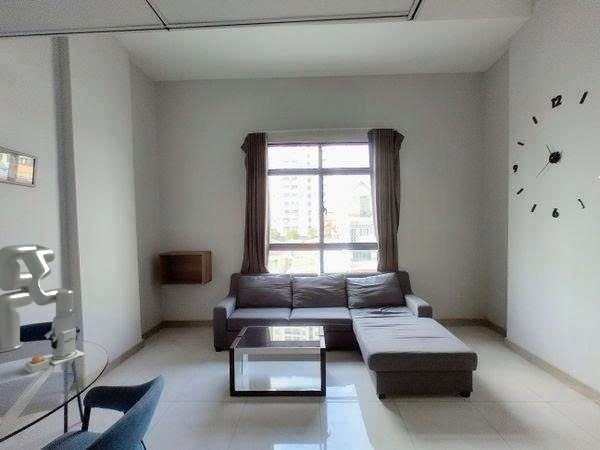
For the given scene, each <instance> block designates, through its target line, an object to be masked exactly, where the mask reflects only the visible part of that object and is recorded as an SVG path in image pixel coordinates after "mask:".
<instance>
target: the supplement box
mask: <svg viewBox="0 0 600 450" xmlns="http://www.w3.org/2000/svg"><path fill="white" fill-rule="evenodd" d="M76 330H77V327H76V328H75V329H71V330H68V331H64V332H60V336H59V337H58V338H57V339H56V341H57V348H56V349H53V348H52V347H51V355H56V356H65V355H67V354H69V353H71V352H74V351H75V349H76V347H77V346H76V343H77V340H76ZM53 334H54V332H53Z"/></svg>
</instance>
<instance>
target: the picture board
mask: <svg viewBox="0 0 600 450" xmlns="http://www.w3.org/2000/svg"><path fill="white" fill-rule="evenodd" d="M78 356H81V357H84V356H86V353H85V352H83V351H81V350H80V351H79V350H77V349H76V348H75V351H74V352H71V353H69V354H67V355H65V356H56V355H52V354H49V355H46V356H43V358H45V359H47V360H49V364H52V365H54V366H58V365H62V364H64V363H66V362H69V361H70V362H71V361H72V360H76V359H78V358H77V357H78ZM81 357H80V358H81Z"/></svg>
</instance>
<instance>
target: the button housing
mask: <svg viewBox="0 0 600 450" xmlns="http://www.w3.org/2000/svg"><path fill="white" fill-rule="evenodd" d="M24 364H25V365H24V366H25V369H27V370H29V371H30V372H34V371H37V372H39V371H38V370H40V371H43V370H45V369H48V368H50V363H49V360H47V359H45V358H43V362H40V363H37V364H32V360H30V361H27V362H26V361H25V363H24ZM25 369H24V370H25ZM42 369H43V370H42ZM27 370H26V371H27ZM29 371H28V372H29ZM30 372H29V373H30ZM34 373H35V372H34Z"/></svg>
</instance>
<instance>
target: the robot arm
mask: <svg viewBox="0 0 600 450" xmlns="http://www.w3.org/2000/svg"><path fill="white" fill-rule="evenodd" d="M55 254H56V253H54V251H53V249H51V248H49V247H45V246H43V245H39V244H37V243H33V244H32V243H30V244H29V243H28V244H13V245H7V246H3V247H1V248H0V290H1V291H3V292H6V293H2V294H0V353H4V352H10V351H14V350H17V349H20V348H21V347H23V346H24V341H20V340H21V339H20V338H21V330H20V329H21V315H20V313H19V312H18V311H17V310H16V309H17V308H21V307H26V306H29V305H31V304H33V302H34V304H36V305H38V306H41V307H43V306H47V305H52V304H55V316H54V317H53V319H52V323H51V330H50V331H48V332H47V333H45V335H44V337H45V338H46V339H47V340H48V341H50V344H51V345H50V347H51V349H52V348H53V349H56V348H57V341H56V339H57V338H58V337H59V336H60V332H64V331H68V330H71V329H75V328H76V341H77V340H78V339H77V336H78V335H79V334H80V332H81V330H82V328H83V325H81V324H77V320H76V315H75V312H76V311H77V309H76V308H74V297H75V296H74V291H73V290H72V289H65V288H63V287H59V288H58V287H57V288H53V289H52V288H51V289H47V290H42V288H41V285H40V282H41V280H44V279H45V278H47V277H48V276H50V275H51V273H52V269H51V268H50V266H49V264H48V263H52V262H53V261H54V260H55V258H56V255H55ZM20 260H23V263H24V265H25V266H26V268H27V270H28V271H21V264H20V263H19V261H20ZM15 290H17V291H15ZM11 291H12V292H11ZM53 332H54V334H53ZM51 336H52V337H51Z"/></svg>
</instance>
